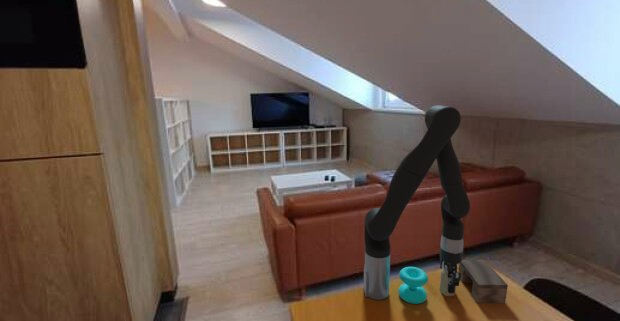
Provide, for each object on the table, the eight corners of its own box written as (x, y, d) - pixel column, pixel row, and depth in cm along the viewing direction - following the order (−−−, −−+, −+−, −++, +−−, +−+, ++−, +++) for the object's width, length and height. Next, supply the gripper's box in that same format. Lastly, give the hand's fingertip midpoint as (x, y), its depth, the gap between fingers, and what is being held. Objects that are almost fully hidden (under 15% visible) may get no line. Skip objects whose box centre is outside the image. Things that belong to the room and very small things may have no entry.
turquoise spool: (395, 266, 115) (419, 263, 117) (394, 289, 118) (418, 286, 119) (407, 282, 106) (433, 279, 107) (405, 307, 108) (431, 303, 109)
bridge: (476, 302, 109) (478, 284, 107) (458, 276, 125) (459, 259, 123) (505, 303, 109) (507, 285, 107) (483, 276, 124) (484, 260, 122)
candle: (452, 287, 118) (454, 264, 116) (457, 296, 113) (460, 273, 110) (437, 286, 118) (439, 264, 116) (442, 296, 113) (444, 272, 111)
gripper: (434, 237, 118) (431, 275, 122) (448, 257, 104) (444, 299, 108) (454, 237, 118) (450, 276, 122) (470, 257, 104) (466, 300, 108)
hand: (447, 287), depth 115 cm, fingers closed on candle, 5 cm apart
